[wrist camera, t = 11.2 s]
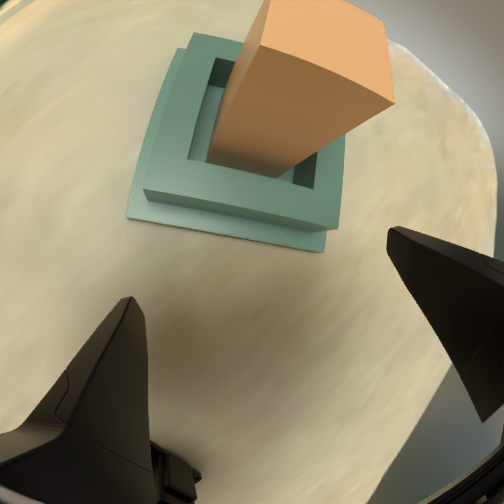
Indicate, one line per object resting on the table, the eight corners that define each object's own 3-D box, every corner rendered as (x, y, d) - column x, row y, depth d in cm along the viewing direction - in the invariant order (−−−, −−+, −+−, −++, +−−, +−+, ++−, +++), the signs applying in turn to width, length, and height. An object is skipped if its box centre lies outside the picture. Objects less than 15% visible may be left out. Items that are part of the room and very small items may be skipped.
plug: (275, 178, 19) (395, 103, 8) (205, 162, 18) (259, 45, 7) (284, 118, 20) (382, 22, 8) (219, 101, 18) (277, -26, 7)
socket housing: (318, 252, 21) (351, 252, 17) (126, 218, 17) (114, 208, 13) (332, 98, 22) (359, 75, 18) (177, 53, 18) (181, 19, 14)
